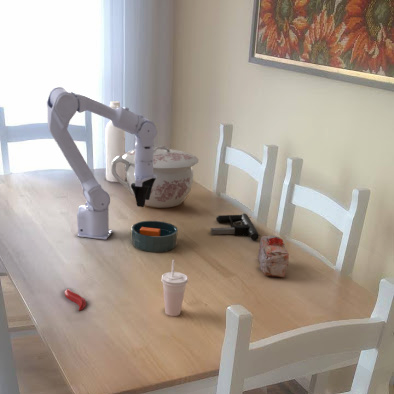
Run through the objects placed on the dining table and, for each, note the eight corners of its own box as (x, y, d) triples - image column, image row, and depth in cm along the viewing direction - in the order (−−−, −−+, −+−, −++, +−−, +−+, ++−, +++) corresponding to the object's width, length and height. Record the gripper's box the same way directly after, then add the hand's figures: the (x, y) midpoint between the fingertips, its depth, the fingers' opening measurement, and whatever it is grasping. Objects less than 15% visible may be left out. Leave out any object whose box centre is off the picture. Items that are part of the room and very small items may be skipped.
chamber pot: (209, 202, 219) (213, 146, 208) (168, 220, 199) (171, 159, 188) (150, 187, 231) (151, 133, 220) (106, 202, 211) (105, 144, 200)
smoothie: (159, 306, 145) (161, 254, 138) (184, 306, 146) (188, 255, 138) (160, 318, 140) (162, 265, 132) (186, 318, 140) (190, 266, 133)
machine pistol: (214, 234, 184) (263, 232, 186) (205, 213, 201) (250, 211, 203) (214, 243, 186) (262, 241, 188) (205, 222, 203) (249, 221, 204)
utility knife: (139, 241, 179) (139, 229, 177) (141, 238, 181) (141, 226, 179) (167, 245, 178) (168, 233, 176) (169, 242, 181) (169, 230, 178)
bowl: (126, 249, 175) (126, 233, 172) (137, 233, 187) (137, 218, 184) (172, 255, 173) (172, 239, 171) (180, 238, 185) (181, 223, 183)
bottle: (103, 181, 234) (102, 102, 218) (109, 176, 240) (108, 99, 225) (122, 183, 233) (122, 104, 217) (127, 178, 240) (127, 101, 224)
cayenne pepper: (88, 310, 141) (87, 303, 140) (69, 311, 139) (68, 304, 138) (81, 288, 150) (81, 282, 149) (63, 290, 149) (63, 283, 148)
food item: (288, 279, 164) (294, 247, 159) (261, 279, 163) (265, 246, 158) (278, 260, 175) (283, 230, 170) (252, 260, 175) (257, 229, 169)
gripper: (151, 166, 170) (150, 211, 178) (161, 155, 183) (160, 197, 190) (128, 164, 171) (128, 208, 178) (139, 153, 183) (139, 195, 190)
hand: (143, 202), depth 184 cm, fingers open, 7 cm apart
